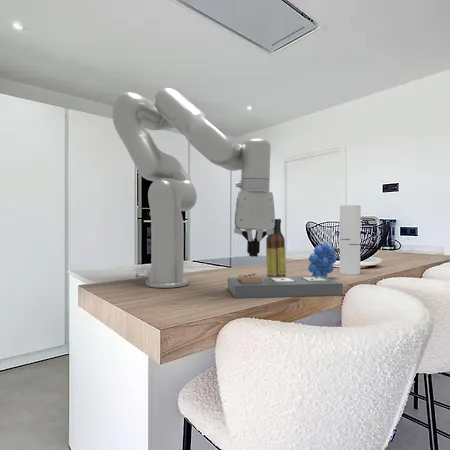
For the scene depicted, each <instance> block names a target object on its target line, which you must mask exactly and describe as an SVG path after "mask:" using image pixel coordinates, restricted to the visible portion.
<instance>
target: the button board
mask: <svg viewBox="0 0 450 450" xmlns="http://www.w3.org/2000/svg"><path fill="white" fill-rule="evenodd" d="M303 277H320V278H323V279H325V280H327V281H326V282H308V281H305V280H303V279H302V278H303ZM271 278H290V279H292V280H294V281H295V282H281V283H275V282H273V281H272V280H271ZM343 285H344V284H343V282H340V281H337V280H334V279H331V278H330V277H328V276H327V277H324V276H312V275H304V276H301V275H300V276H297V275H296V276H288V275H287V276H286V277H267V276H261V283H240V282H239V276H237V277H227V289H228V291H229V292H230V294H231V293H232V294H231V295H232V297H234V299H254V298H258V297H260V298H288V296H295V297H320V296H321V297H325V296H327V297H328V296H343V295H344V294H343V293H344V292H343V291H344V290H343V289H344V287H343Z"/></svg>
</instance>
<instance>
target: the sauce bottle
mask: <svg viewBox="0 0 450 450" xmlns="http://www.w3.org/2000/svg"><path fill="white" fill-rule="evenodd" d="M281 224H282V219H281V218H275V226H274V228H273V230H274V233H273V234H270V235H266V236H267V237H266V238H265V244H266V247H265V251H266V252H265V253H266V277H287V276H286V274H287V266H286V265H287V261H286V260H287V259H286V258H287V257H286V242H285V237H284V235H283V233H282V230H281V228H282V227H281Z"/></svg>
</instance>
